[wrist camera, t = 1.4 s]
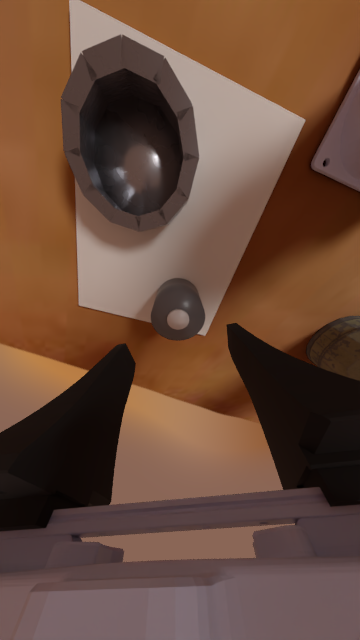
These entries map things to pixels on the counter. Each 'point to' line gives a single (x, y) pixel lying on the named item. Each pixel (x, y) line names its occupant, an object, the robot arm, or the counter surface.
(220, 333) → the counter surface
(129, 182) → the grey bowl
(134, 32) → the mat
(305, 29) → the counter surface
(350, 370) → the brown tall rounded block
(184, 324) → the cap
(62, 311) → the counter surface
